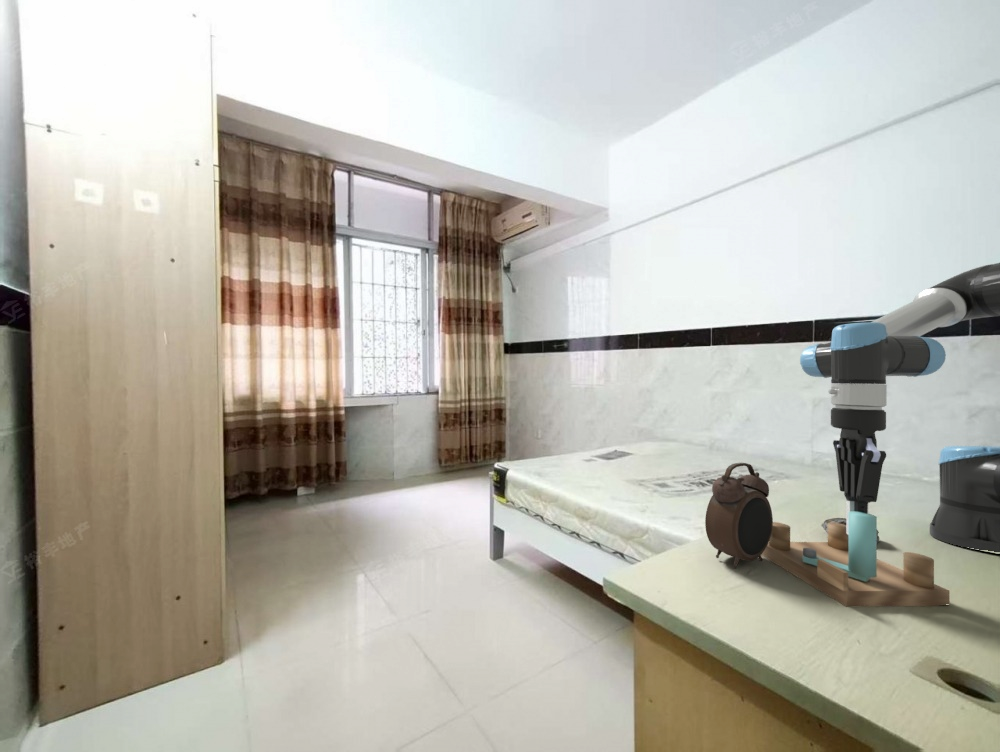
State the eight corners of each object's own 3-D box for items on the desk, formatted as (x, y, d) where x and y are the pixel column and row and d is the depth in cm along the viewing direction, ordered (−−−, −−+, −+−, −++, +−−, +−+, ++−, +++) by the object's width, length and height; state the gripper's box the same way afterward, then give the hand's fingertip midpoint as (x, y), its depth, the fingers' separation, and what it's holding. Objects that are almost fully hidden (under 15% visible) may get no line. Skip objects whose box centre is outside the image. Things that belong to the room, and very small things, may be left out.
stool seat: (839, 553, 85) (839, 521, 85) (949, 605, 65) (949, 563, 65) (757, 553, 84) (757, 521, 84) (843, 606, 64) (843, 563, 64)
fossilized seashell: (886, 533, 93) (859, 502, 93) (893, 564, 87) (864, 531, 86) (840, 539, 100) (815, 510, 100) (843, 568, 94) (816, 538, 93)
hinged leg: (806, 557, 76) (807, 500, 76) (879, 579, 68) (879, 515, 68) (799, 561, 74) (799, 503, 74) (873, 585, 66) (873, 519, 66)
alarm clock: (737, 576, 74) (738, 469, 74) (701, 560, 80) (702, 462, 81) (780, 561, 80) (780, 464, 81) (744, 548, 87) (744, 458, 87)
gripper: (817, 404, 79) (817, 521, 79) (849, 409, 67) (849, 546, 67) (864, 405, 77) (863, 526, 77) (906, 410, 65) (905, 553, 64)
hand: (857, 535), depth 72 cm, fingers closed
